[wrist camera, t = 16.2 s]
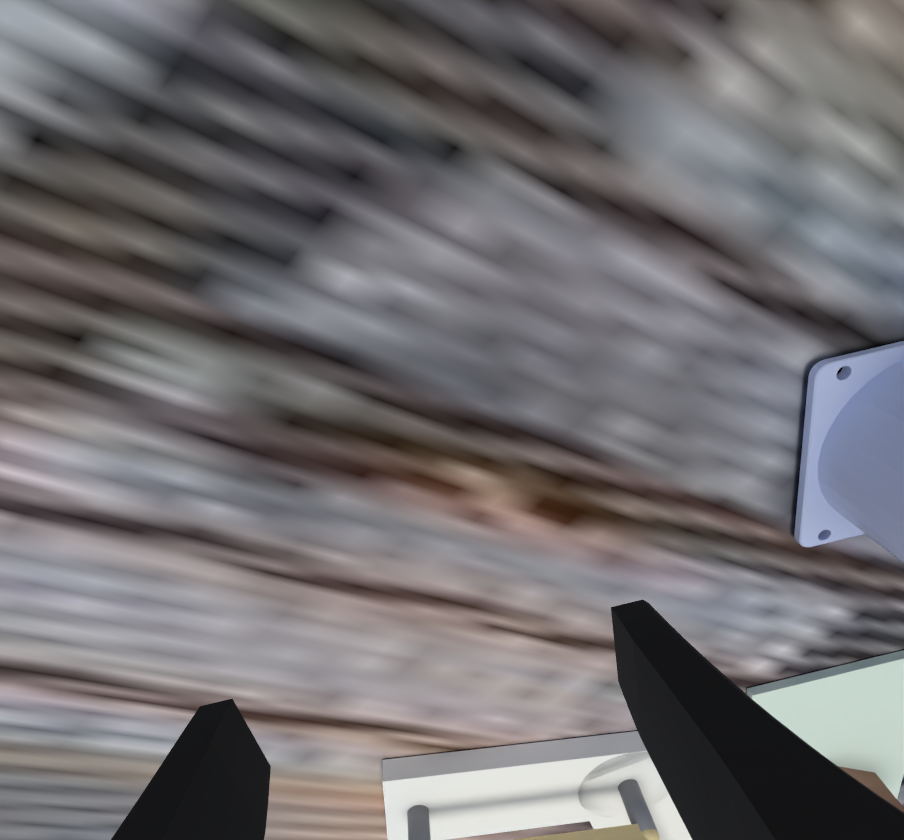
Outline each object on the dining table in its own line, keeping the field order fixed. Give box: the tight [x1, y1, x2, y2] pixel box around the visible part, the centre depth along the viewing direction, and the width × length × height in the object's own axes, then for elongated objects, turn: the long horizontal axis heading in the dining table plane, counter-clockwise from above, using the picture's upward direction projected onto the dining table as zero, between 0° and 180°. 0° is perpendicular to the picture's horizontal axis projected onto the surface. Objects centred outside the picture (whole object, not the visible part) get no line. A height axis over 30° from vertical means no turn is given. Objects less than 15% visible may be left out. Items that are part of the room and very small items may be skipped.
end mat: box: [747, 650, 904, 799], centre depth 30 cm, size 9×19×1 cm, turn 11°
